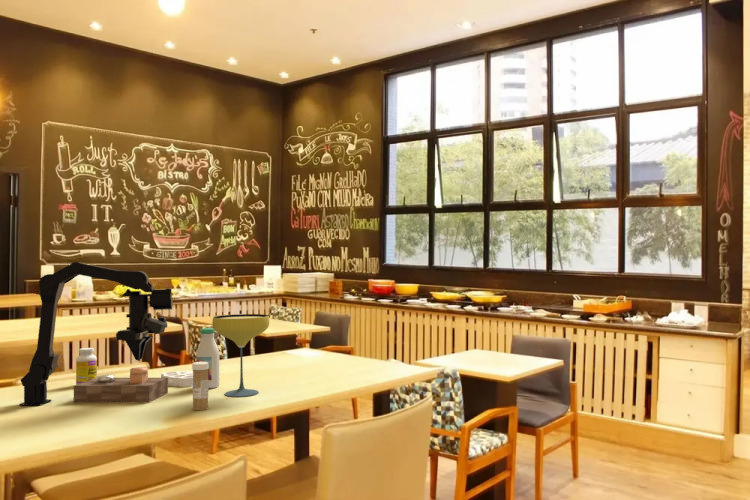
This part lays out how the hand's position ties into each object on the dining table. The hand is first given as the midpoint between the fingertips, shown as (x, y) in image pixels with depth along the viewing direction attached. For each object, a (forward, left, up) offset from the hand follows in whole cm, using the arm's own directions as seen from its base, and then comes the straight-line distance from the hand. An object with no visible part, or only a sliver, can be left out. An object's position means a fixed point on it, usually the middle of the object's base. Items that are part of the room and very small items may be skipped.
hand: (138, 359), depth 195 cm
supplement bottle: (+20, +28, -12) cm, 37 cm away
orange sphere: (0, 0, -8) cm, 8 cm away
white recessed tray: (+25, -4, -13) cm, 28 cm away
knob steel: (0, +11, -11) cm, 15 cm away
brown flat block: (0, +5, -12) cm, 13 cm away
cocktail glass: (+6, -32, -12) cm, 34 cm away
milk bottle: (+17, -17, -12) cm, 27 cm away
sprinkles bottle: (-15, -26, -12) cm, 32 cm away
